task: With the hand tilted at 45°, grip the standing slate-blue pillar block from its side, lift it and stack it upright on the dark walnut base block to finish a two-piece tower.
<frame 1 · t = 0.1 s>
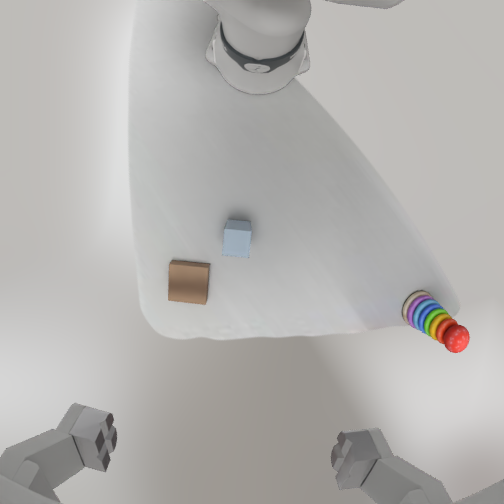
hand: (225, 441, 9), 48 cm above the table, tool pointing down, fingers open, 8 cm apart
pillar: (237, 231, 56), on the table
base block: (190, 279, 59), on the table
stacking toy: (415, 306, 61), on the table
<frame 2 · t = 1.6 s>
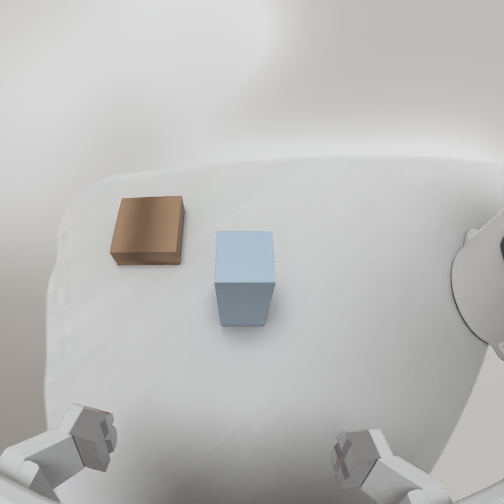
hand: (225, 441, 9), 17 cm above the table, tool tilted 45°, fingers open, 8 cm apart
pillar: (242, 306, 30), on the table
base block: (152, 238, 34), on the table
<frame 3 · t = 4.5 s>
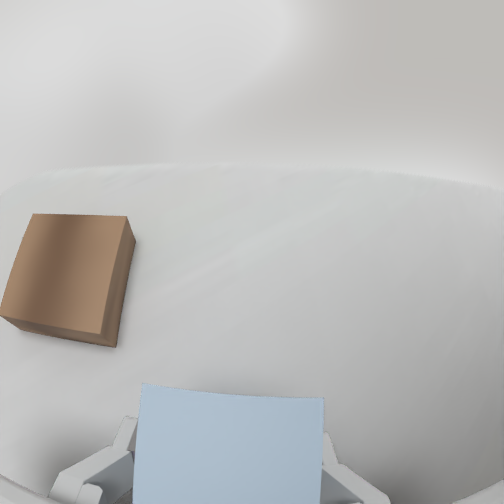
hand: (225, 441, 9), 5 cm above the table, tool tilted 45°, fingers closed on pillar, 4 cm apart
pillar: (222, 446, 14), on the table, touching gripper
base block: (77, 287, 18), on the table
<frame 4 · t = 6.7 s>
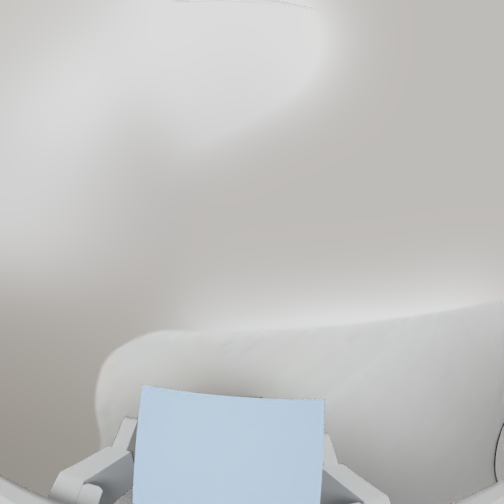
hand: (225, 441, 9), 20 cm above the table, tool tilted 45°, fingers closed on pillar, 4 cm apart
pillar: (222, 447, 14), point 14 cm above the table, touching gripper
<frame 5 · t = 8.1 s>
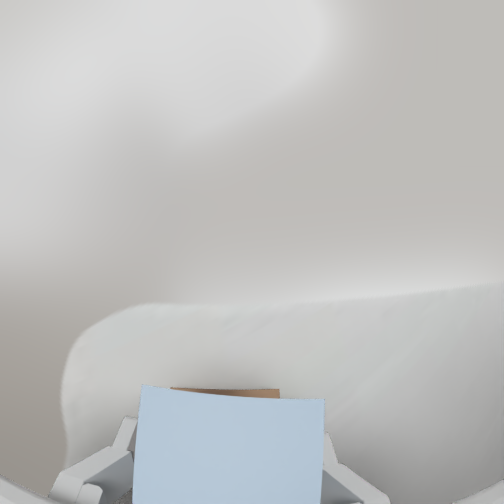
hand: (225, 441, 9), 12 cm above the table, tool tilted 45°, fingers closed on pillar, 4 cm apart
pillar: (222, 447, 14), point 6 cm above the table, touching gripper
base block: (225, 439, 19), on the table
when the fingers open (10 cm above the table, at t = 8.8 s): pillar drops 2 cm, resting on base block.
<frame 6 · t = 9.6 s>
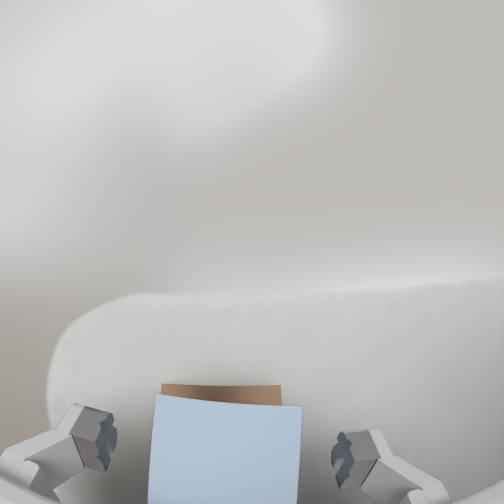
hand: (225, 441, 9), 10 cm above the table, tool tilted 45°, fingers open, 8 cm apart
pillar: (218, 444, 15), point 3 cm above the table, touching base block
base block: (221, 440, 18), on the table, touching pillar
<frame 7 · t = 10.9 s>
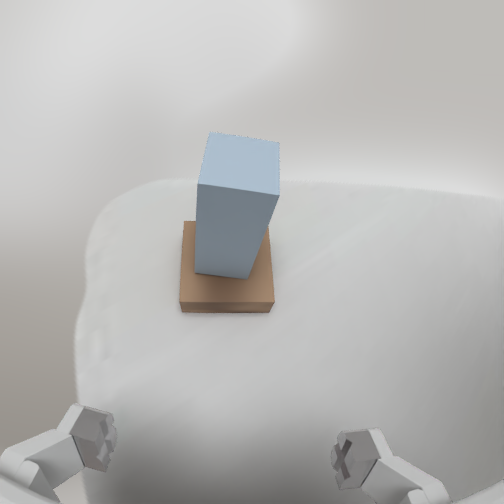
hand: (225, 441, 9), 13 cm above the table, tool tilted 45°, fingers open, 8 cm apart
pillar: (223, 252, 25), point 3 cm above the table, touching base block
base block: (224, 275, 27), on the table, touching pillar
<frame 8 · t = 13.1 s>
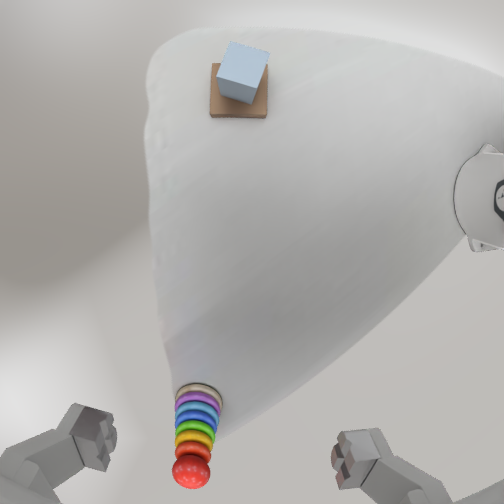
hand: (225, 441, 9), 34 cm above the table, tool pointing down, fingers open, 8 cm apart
pillar: (241, 85, 35), point 3 cm above the table
base block: (239, 93, 38), on the table
stacking toy: (199, 398, 49), on the table
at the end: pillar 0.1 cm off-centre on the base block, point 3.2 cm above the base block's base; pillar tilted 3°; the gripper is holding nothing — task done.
